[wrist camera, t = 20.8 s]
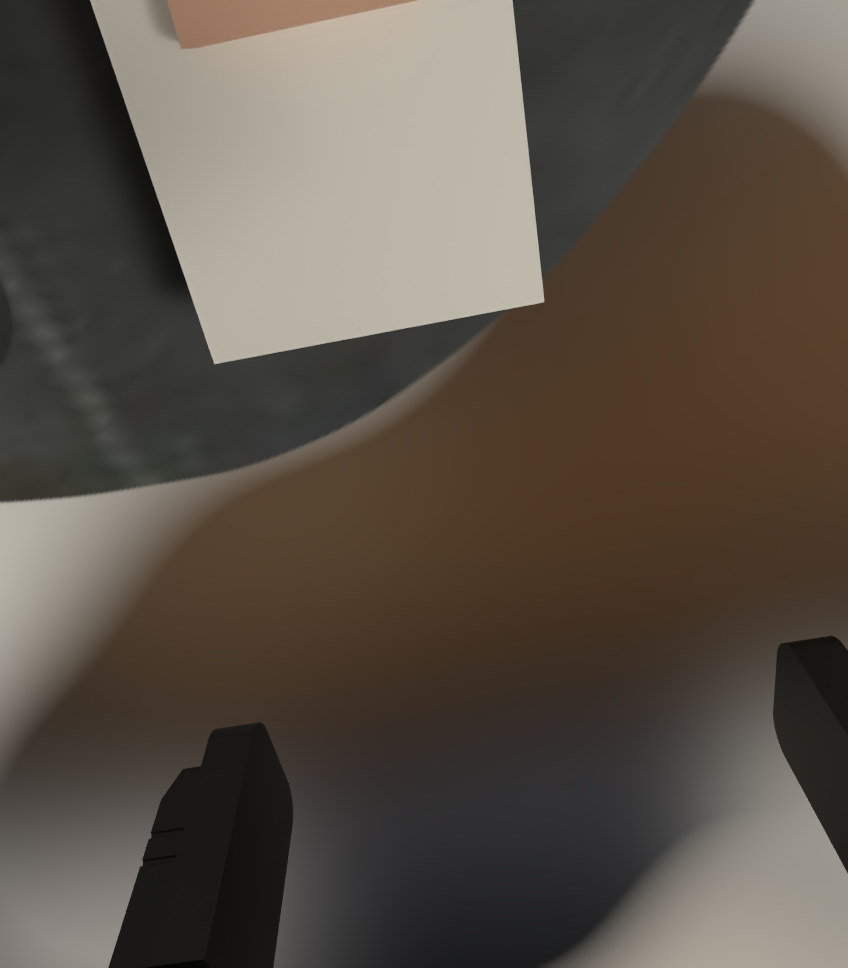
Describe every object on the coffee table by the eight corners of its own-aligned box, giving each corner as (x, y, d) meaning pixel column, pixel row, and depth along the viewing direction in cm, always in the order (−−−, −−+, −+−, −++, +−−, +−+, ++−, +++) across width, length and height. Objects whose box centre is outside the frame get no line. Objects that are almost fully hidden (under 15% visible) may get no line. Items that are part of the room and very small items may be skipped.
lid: (217, 358, 33) (203, 382, 30) (86, -28, 26) (57, -34, 24) (541, 297, 32) (552, 317, 30) (497, -120, 25) (507, -136, 23)
